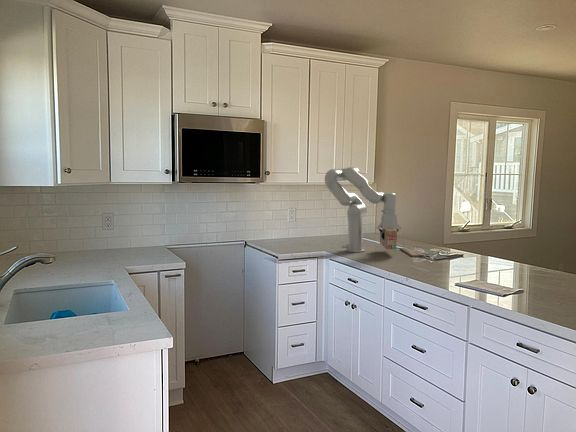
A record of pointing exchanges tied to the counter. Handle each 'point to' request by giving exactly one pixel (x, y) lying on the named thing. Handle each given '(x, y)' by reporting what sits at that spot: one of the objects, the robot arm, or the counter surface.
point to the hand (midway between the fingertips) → (388, 238)
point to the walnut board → (412, 252)
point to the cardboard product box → (389, 238)
